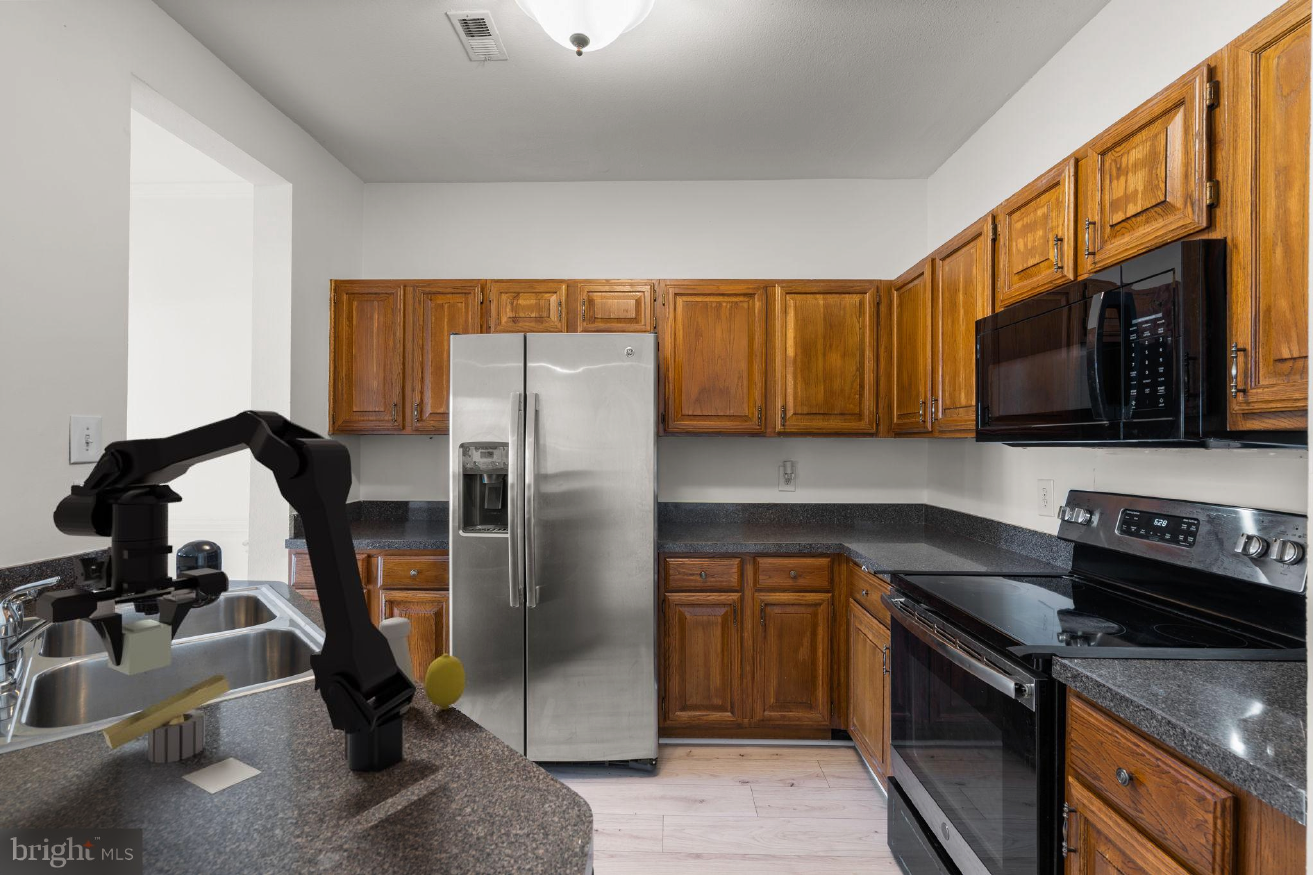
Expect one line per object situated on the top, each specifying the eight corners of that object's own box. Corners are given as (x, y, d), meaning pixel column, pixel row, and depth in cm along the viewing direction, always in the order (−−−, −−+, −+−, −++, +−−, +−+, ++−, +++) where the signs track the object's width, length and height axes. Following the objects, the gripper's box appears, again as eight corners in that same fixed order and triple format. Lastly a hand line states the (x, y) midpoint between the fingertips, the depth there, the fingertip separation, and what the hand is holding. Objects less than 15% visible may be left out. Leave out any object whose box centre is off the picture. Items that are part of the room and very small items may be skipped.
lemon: (426, 720, 90) (426, 662, 90) (423, 704, 95) (424, 650, 95) (467, 713, 92) (467, 657, 92) (462, 699, 97) (463, 645, 97)
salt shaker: (400, 720, 89) (400, 626, 89) (363, 716, 91) (364, 624, 91) (423, 703, 95) (424, 615, 95) (388, 700, 96) (389, 613, 96)
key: (231, 716, 84) (219, 673, 82) (238, 721, 83) (226, 678, 81) (117, 776, 74) (102, 729, 73) (124, 783, 73) (108, 736, 72)
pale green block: (171, 664, 83) (171, 623, 84) (129, 675, 80) (129, 632, 80) (149, 656, 87) (149, 617, 87) (108, 666, 83) (108, 625, 83)
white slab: (283, 772, 75) (283, 729, 75) (186, 815, 67) (186, 766, 67) (207, 737, 84) (207, 698, 84) (113, 771, 75) (113, 728, 75)
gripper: (191, 525, 95) (190, 631, 95) (19, 543, 79) (18, 670, 79) (231, 531, 90) (230, 643, 90) (54, 551, 74) (54, 688, 73)
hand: (139, 659), depth 83 cm, fingers closed on pale green block, 4 cm apart
